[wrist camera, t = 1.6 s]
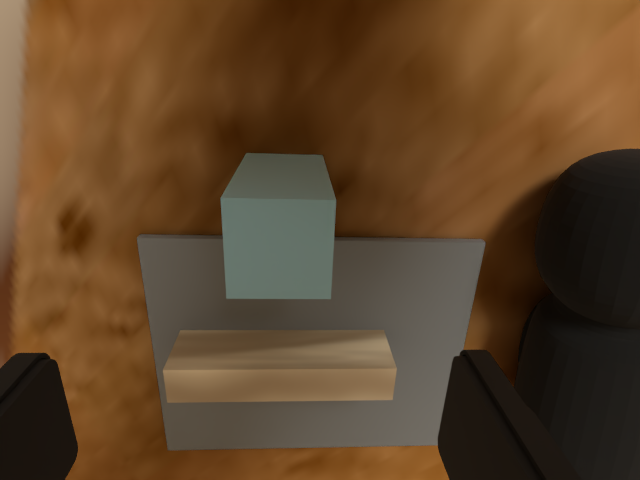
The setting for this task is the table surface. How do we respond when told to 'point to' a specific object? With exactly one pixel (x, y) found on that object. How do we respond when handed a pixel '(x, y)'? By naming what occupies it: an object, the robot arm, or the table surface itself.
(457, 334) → the panel
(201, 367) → the plank
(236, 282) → the block
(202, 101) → the table surface
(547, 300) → the figurine
